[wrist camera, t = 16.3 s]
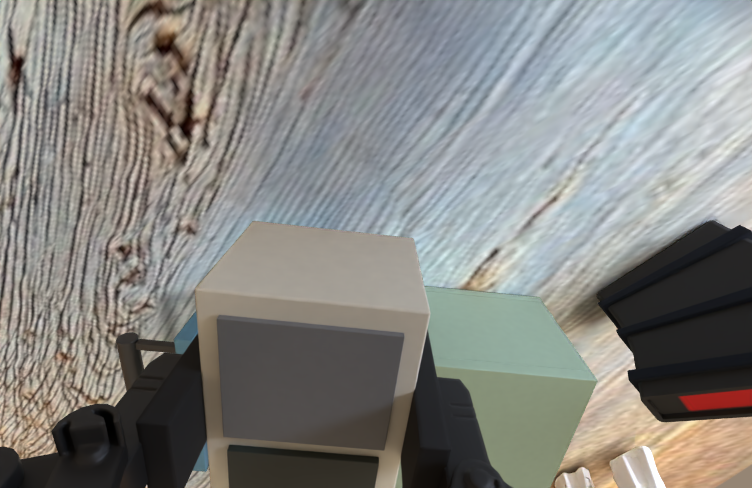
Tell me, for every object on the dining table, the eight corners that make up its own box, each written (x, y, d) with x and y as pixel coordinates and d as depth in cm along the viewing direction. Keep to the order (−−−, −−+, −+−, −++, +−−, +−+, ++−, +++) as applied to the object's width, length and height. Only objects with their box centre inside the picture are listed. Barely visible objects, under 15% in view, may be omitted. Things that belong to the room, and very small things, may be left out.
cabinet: (342, 398, 40) (330, 499, 31) (353, 278, 34) (343, 357, 25) (501, 412, 40) (538, 515, 31) (539, 297, 35) (598, 380, 25)
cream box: (252, 220, 14) (189, 292, 9) (414, 237, 14) (432, 317, 10) (254, 386, 17) (207, 504, 12) (386, 398, 18) (390, 518, 13)
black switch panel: (787, 229, 30) (913, 409, 19) (609, 282, 38) (629, 427, 28) (769, 195, 29) (892, 366, 18) (590, 257, 37) (603, 398, 27)
